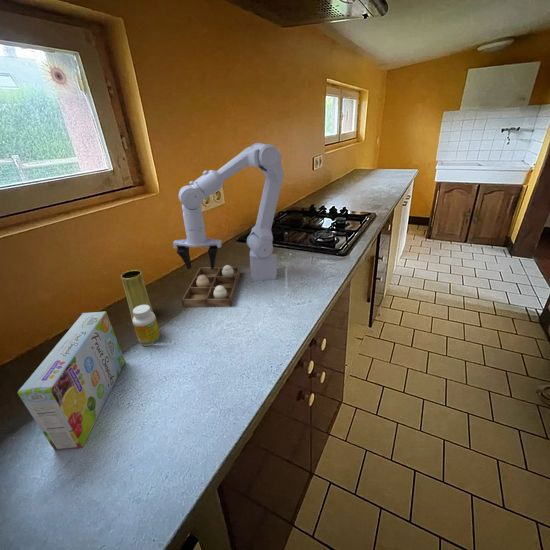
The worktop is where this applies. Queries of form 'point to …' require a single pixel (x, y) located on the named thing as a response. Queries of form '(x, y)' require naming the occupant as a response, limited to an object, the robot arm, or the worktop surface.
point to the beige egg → (202, 281)
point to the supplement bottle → (145, 325)
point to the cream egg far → (227, 271)
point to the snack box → (74, 381)
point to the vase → (135, 290)
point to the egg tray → (211, 288)
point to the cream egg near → (220, 292)
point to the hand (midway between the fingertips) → (201, 267)
